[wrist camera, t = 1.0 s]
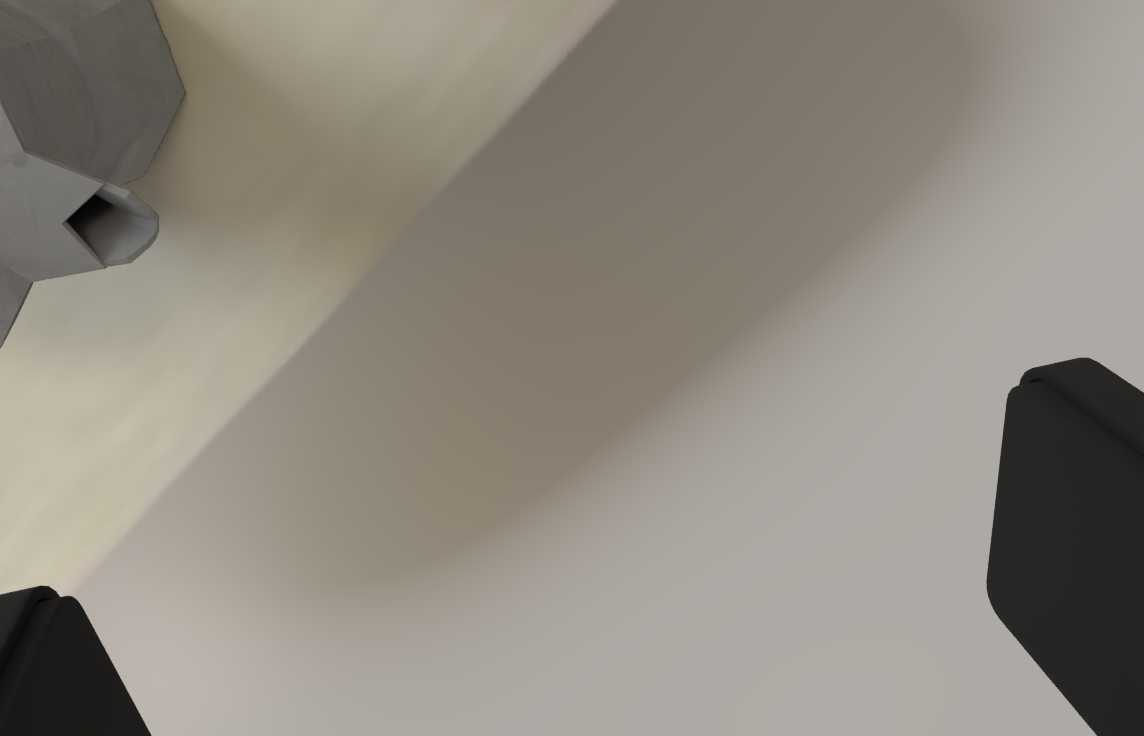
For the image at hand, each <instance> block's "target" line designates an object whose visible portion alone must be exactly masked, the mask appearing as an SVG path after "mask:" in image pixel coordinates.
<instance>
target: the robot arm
mask: <svg viewBox="0 0 1144 736" xmlns="http://www.w3.org/2000/svg"><path fill="white" fill-rule="evenodd" d="M987 592H988V597H989V599H990V602H991V605H992V607H993V609H994V611H995V613H996V614H997V616H998V617H999V618H1000V620H1001V621H1002V622H1003V623H1004V625H1005V626H1006V627H1007V628H1008V629H1009V630H1010V632H1011V633H1012V634H1013V635H1014V637H1016V639H1017V640H1018V641H1019V643H1020V644H1021V645H1022V646H1023V647H1024V649H1025V650H1026V651H1027V652H1028V653H1029V655H1030V656H1031V657H1032V658H1033V659H1034V661H1035V662H1036V663H1037V664H1038V665H1039V666H1040V668H1041V669H1042V670H1043V671H1044V672H1045V674H1046V675H1047V676H1048V677H1049V679H1050V680H1051V681H1052V682H1053V683H1054V684H1055V686H1056V687H1057V688H1058V689H1059V690H1060V692H1061V693H1062V694H1063V695H1064V697H1065V698H1066V699H1067V700H1068V701H1069V703H1070V704H1071V705H1072V706H1073V707H1074V708H1075V710H1076V711H1077V712H1078V713H1079V715H1080V716H1081V717H1082V718H1083V719H1084V720H1085V722H1086V723H1087V724H1088V725H1089V726H1090V728H1091V729H1092V730H1093V731H1094V732H1095V734H1096V735H1097V736H1144V393H1143V392H1142V391H1140V390H1139V389H1137V388H1136V387H1134V386H1133V385H1131V384H1130V383H1128V382H1127V381H1125V380H1124V379H1122V378H1121V377H1119V376H1118V375H1116V374H1115V373H1113V372H1112V371H1110V370H1109V369H1107V368H1106V367H1104V366H1103V365H1101V364H1100V363H1098V362H1097V361H1094V360H1092V359H1090V358H1077V359H1072V360H1067V361H1063V362H1058V363H1054V364H1049V365H1044V366H1040V367H1035V368H1032V369H1030V370H1028V371H1026V372H1025V373H1024V375H1023V376H1022V378H1021V380H1020V384H1019V386H1016V387H1014V388H1012V390H1011V391H1010V392H1009V394H1008V398H1007V403H1006V412H1005V422H1004V430H1003V440H1002V448H1001V457H1000V465H999V474H998V483H997V492H996V501H995V510H994V520H993V528H992V537H991V546H990V555H989V563H988V572H987ZM0 736H151V734H150V732H149V730H148V728H147V726H146V725H145V723H144V721H143V719H142V717H141V715H140V714H139V712H138V710H137V708H136V706H135V704H134V702H133V701H132V699H131V697H130V695H129V693H128V691H127V689H126V688H125V686H124V684H123V682H122V680H121V678H120V676H119V675H118V673H117V671H116V669H115V667H114V665H113V663H112V661H111V660H110V658H109V656H108V654H107V652H106V650H105V648H104V647H103V645H102V643H101V641H100V639H99V637H98V635H97V634H96V632H95V630H94V628H93V626H92V624H91V623H90V621H89V619H88V617H87V615H86V613H85V611H84V609H83V608H82V606H81V605H80V603H79V602H78V601H77V600H76V599H75V598H74V597H72V596H64V597H60V596H59V595H58V593H57V592H56V591H55V590H53V589H52V588H50V587H49V586H37V587H33V588H28V589H24V590H19V591H15V592H10V593H6V594H1V595H0Z"/></svg>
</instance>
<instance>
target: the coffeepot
mask: <svg viewBox="0 0 1144 736" xmlns="http://www.w3.org/2000/svg"><path fill="white" fill-rule="evenodd" d="M184 94H185V92H184V89H183V86H182V84H181V81H180V79H179V76H178V74H177V71H176V68H175V65H174V62H173V59H172V56H171V52H170V49H169V46H168V43H167V40H166V38H165V36H164V34H163V32H162V30H161V28H160V26H159V24H158V22H157V19H156V17H155V14H154V12H153V9H152V6H151V4H150V1H149V0H0V348H1V347H2V345H3V343H4V341H5V339H6V337H7V336H8V334H9V332H10V330H11V328H12V326H13V324H14V322H15V320H16V318H17V316H18V314H19V312H20V310H21V308H22V306H23V304H24V301H25V299H26V297H27V295H28V293H29V291H30V289H31V287H32V285H33V282H35V281H40V280H46V279H51V278H56V277H62V276H67V275H73V274H78V273H84V272H89V271H94V270H100V269H105V268H107V266H114V265H121V264H127V263H131V262H132V261H134V260H135V259H136V258H137V257H139V256H140V255H141V254H142V253H143V252H144V251H146V250H147V249H148V248H149V247H150V246H151V245H152V243H153V242H154V241H155V239H156V237H157V235H158V232H159V215H158V214H157V212H156V211H155V210H153V209H152V208H151V207H150V206H149V205H147V204H146V203H144V202H143V201H142V200H140V199H139V198H138V197H137V196H135V195H134V194H133V193H132V192H130V191H128V190H125V189H123V188H121V187H118V186H120V185H123V184H125V183H128V182H130V181H133V180H135V179H138V178H140V177H143V176H144V175H145V173H146V171H147V169H148V167H149V165H150V163H151V161H152V159H153V157H154V155H155V153H156V151H157V149H158V147H159V145H160V143H161V141H162V139H163V137H164V135H165V134H166V131H167V128H168V126H169V124H170V122H171V120H172V118H173V116H174V114H175V112H176V110H177V108H178V106H179V104H180V102H181V100H182V98H183V96H184Z"/></svg>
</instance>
